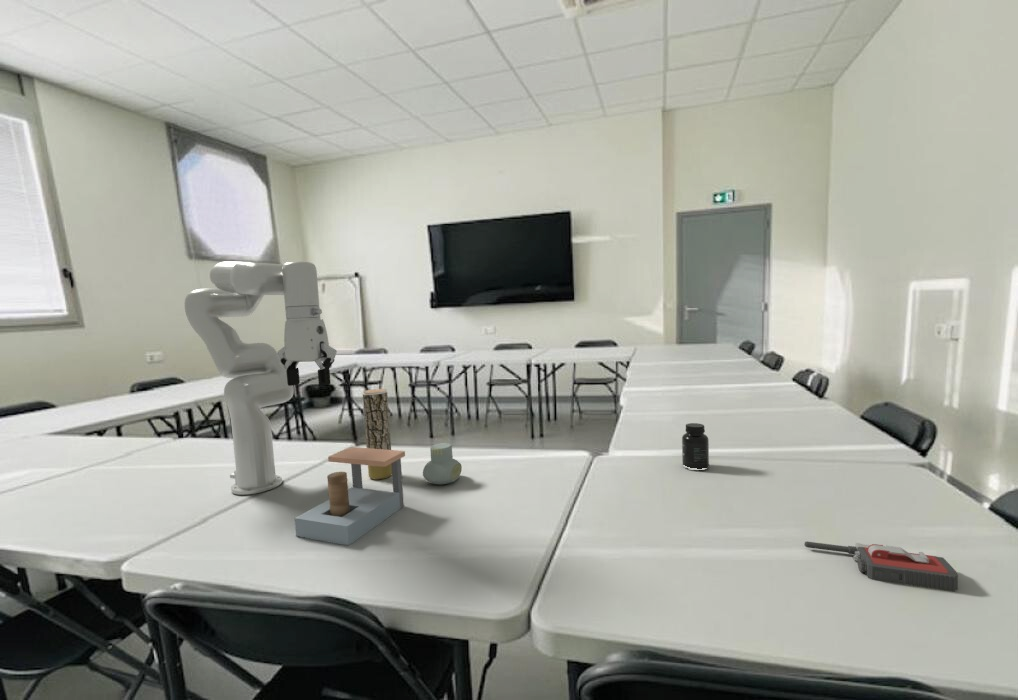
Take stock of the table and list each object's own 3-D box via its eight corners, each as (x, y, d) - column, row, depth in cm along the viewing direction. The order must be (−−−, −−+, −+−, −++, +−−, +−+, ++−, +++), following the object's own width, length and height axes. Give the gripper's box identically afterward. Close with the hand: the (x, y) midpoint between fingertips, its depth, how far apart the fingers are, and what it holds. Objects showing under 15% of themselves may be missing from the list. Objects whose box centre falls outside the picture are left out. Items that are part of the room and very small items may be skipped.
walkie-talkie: (942, 566, 78) (803, 548, 85) (943, 541, 77) (803, 525, 85) (970, 597, 70) (813, 573, 77) (971, 568, 69) (813, 548, 77)
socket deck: (292, 535, 99) (287, 473, 98) (355, 499, 118) (351, 446, 117) (352, 546, 94) (347, 480, 92) (408, 505, 112) (404, 451, 111)
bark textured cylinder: (386, 480, 130) (380, 393, 128) (364, 480, 132) (357, 393, 130) (396, 472, 137) (391, 388, 135) (375, 471, 138) (369, 389, 136)
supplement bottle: (680, 463, 133) (679, 422, 132) (705, 463, 132) (704, 421, 131) (685, 471, 126) (684, 428, 125) (712, 471, 125) (711, 428, 124)
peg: (340, 522, 105) (336, 471, 104) (354, 524, 103) (350, 472, 102) (327, 530, 101) (323, 477, 100) (342, 533, 99) (337, 478, 98)
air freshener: (447, 489, 121) (445, 452, 121) (420, 487, 124) (417, 451, 123) (465, 475, 132) (463, 441, 131) (439, 473, 134) (436, 439, 134)
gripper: (342, 312, 111) (348, 383, 112) (288, 315, 117) (294, 382, 119) (319, 313, 104) (325, 388, 105) (263, 316, 110) (269, 387, 112)
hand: (309, 385), depth 112 cm, fingers open, 9 cm apart
